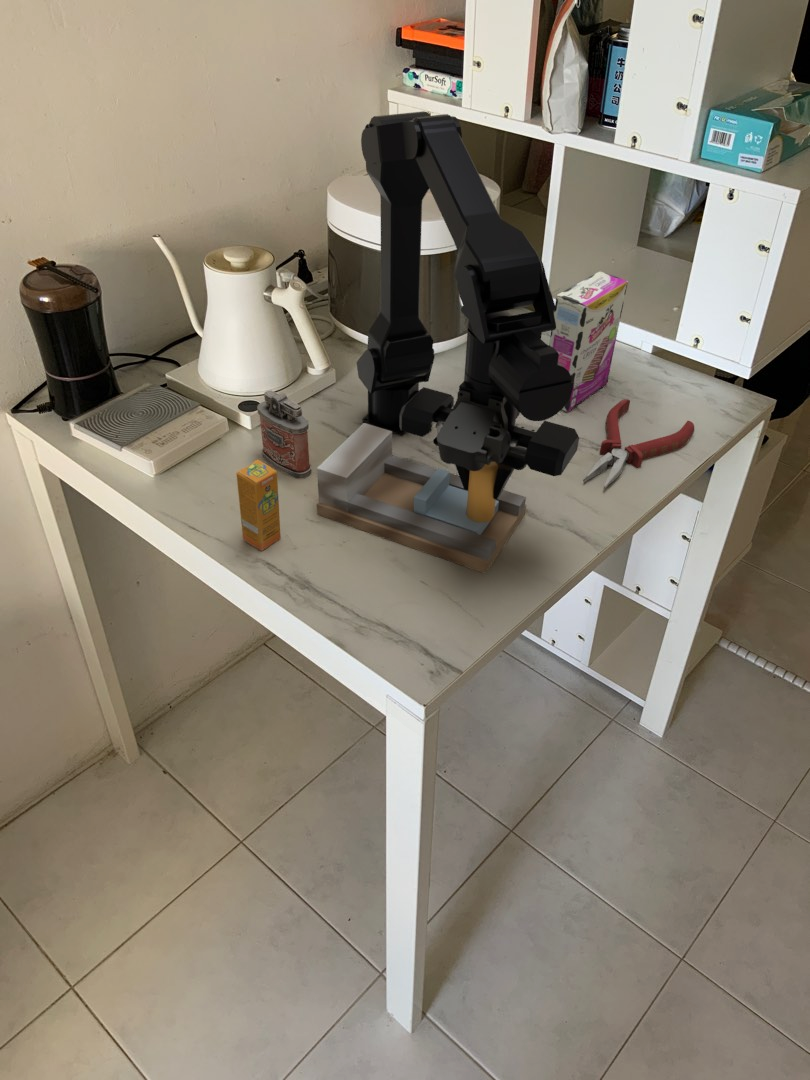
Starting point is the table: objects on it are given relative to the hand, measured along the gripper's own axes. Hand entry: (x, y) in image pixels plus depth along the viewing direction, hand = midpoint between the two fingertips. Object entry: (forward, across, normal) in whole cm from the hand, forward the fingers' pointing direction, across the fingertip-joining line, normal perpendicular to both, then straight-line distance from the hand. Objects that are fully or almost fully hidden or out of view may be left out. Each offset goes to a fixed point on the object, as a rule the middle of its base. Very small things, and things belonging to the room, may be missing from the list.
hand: (482, 492), depth 99 cm
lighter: (+6, -28, +1) cm, 28 cm away
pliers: (+7, +9, +26) cm, 29 cm away
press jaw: (+4, -3, 0) cm, 5 cm away
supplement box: (+6, -22, -13) cm, 26 cm away
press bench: (+6, -8, 0) cm, 10 cm away
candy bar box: (+6, 0, +36) cm, 37 cm away
